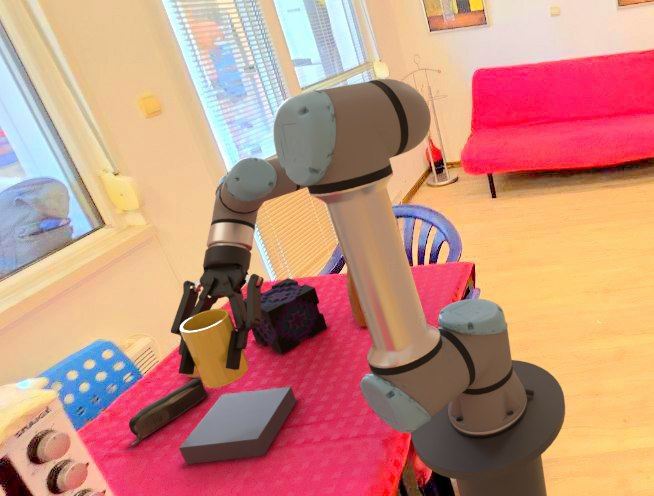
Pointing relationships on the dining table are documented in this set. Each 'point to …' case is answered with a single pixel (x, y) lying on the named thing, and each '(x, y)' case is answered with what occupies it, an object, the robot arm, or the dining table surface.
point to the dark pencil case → (166, 409)
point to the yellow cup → (212, 347)
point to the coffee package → (354, 302)
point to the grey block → (239, 425)
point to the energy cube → (288, 316)
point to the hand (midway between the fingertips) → (209, 371)
